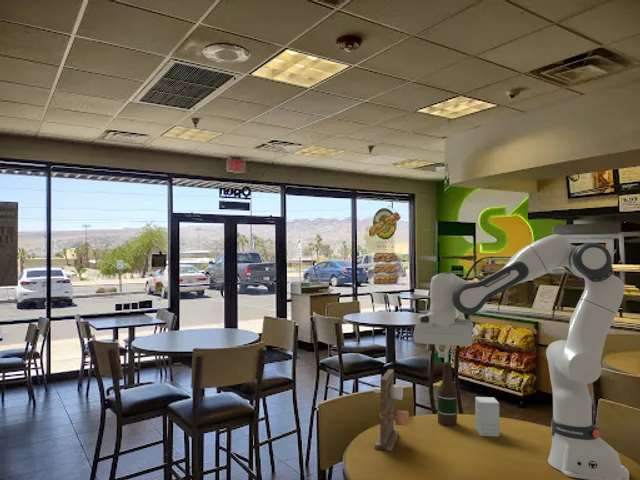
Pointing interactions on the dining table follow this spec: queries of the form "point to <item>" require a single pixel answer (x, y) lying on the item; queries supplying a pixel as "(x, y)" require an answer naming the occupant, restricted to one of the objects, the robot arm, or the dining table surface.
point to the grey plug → (393, 391)
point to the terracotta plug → (400, 417)
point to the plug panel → (386, 415)
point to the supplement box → (487, 416)
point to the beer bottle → (447, 398)
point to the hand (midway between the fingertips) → (442, 357)
